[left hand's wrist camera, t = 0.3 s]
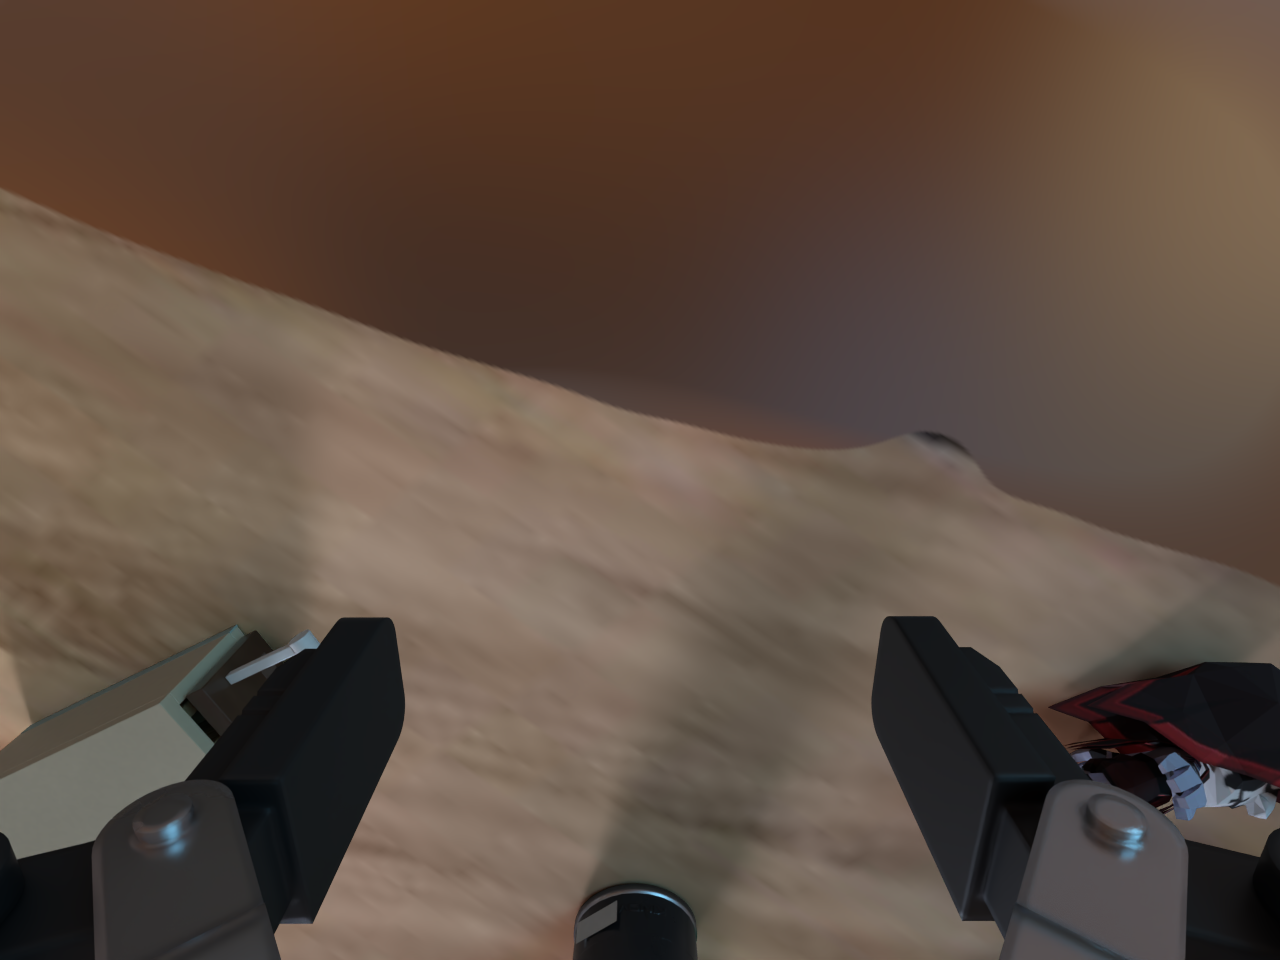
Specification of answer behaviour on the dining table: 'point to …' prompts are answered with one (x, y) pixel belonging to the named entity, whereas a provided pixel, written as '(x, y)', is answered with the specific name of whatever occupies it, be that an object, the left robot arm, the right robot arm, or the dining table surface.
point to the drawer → (238, 680)
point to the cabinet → (105, 753)
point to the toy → (1188, 737)
